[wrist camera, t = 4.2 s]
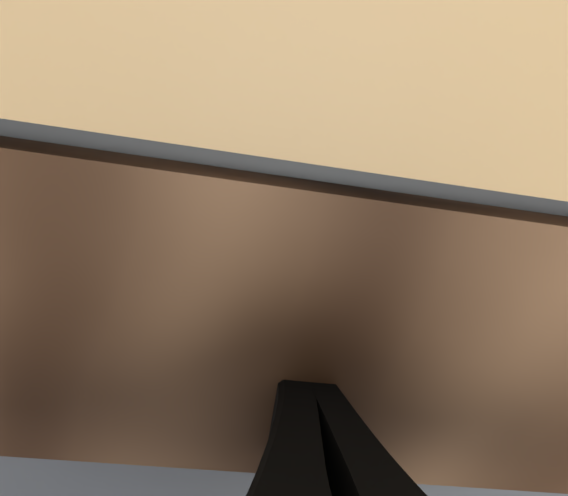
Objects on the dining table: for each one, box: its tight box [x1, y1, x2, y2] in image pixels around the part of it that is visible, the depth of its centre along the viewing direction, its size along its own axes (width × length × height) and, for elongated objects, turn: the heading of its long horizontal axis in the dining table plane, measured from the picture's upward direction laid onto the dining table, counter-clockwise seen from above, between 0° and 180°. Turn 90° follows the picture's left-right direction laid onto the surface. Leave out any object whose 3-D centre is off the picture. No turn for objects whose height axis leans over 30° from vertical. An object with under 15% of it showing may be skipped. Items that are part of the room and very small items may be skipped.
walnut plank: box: [0, 136, 568, 494], centre depth 10 cm, size 18×7×1 cm, turn 81°
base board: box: [0, 0, 568, 496], centre depth 9 cm, size 20×18×2 cm
